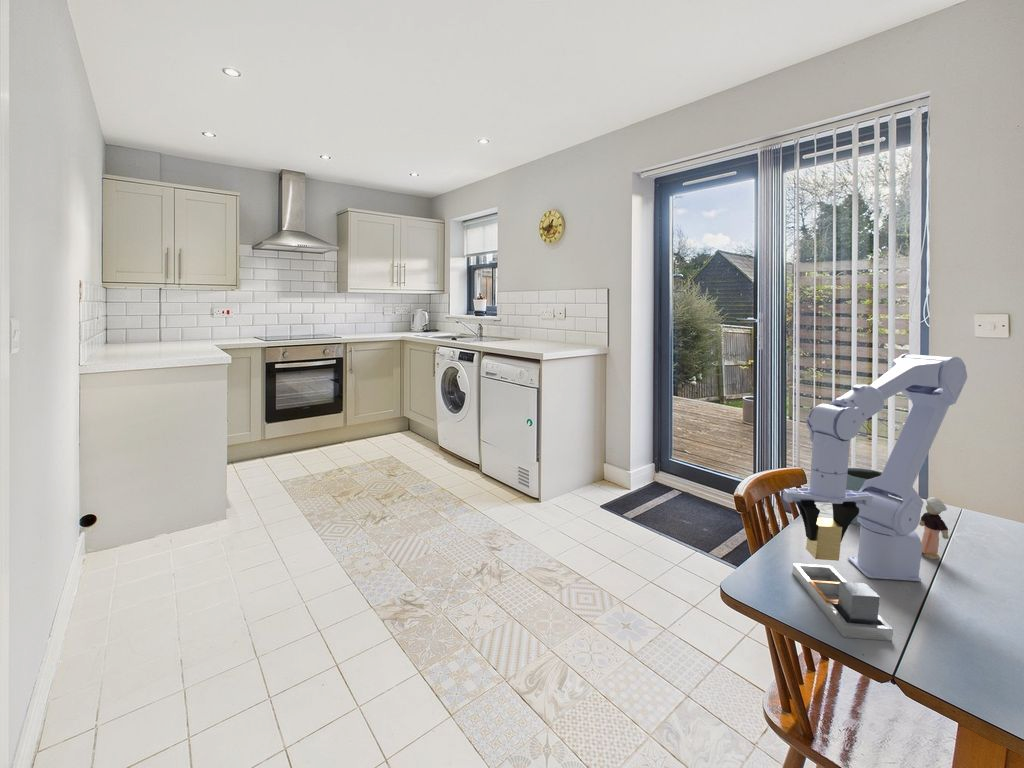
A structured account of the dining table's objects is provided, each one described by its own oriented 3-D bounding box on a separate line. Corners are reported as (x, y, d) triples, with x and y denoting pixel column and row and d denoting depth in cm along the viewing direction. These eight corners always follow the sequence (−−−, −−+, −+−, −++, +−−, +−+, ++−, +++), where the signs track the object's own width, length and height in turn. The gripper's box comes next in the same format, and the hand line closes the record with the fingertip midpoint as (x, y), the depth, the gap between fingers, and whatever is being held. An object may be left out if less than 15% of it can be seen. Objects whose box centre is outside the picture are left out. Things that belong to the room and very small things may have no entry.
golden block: (828, 550, 95) (831, 518, 94) (838, 560, 91) (842, 527, 90) (806, 548, 96) (809, 517, 95) (815, 559, 92) (818, 525, 91)
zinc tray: (830, 575, 97) (831, 564, 97) (891, 641, 78) (893, 628, 77) (792, 572, 98) (793, 562, 98) (843, 637, 79) (844, 624, 78)
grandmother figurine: (905, 547, 109) (911, 492, 107) (921, 546, 109) (927, 491, 107) (937, 564, 101) (944, 505, 99) (955, 564, 101) (962, 504, 100)
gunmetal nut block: (862, 619, 83) (865, 583, 82) (876, 634, 79) (879, 596, 78) (836, 617, 84) (839, 581, 83) (848, 632, 80) (852, 594, 79)
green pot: (832, 519, 123) (836, 473, 122) (844, 508, 130) (848, 464, 129) (882, 532, 116) (887, 483, 114) (891, 520, 123) (896, 473, 121)
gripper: (795, 474, 88) (790, 546, 90) (884, 477, 86) (877, 551, 88) (780, 463, 95) (776, 530, 97) (862, 465, 93) (856, 533, 95)
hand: (823, 539), depth 93 cm, fingers closed on golden block, 4 cm apart
